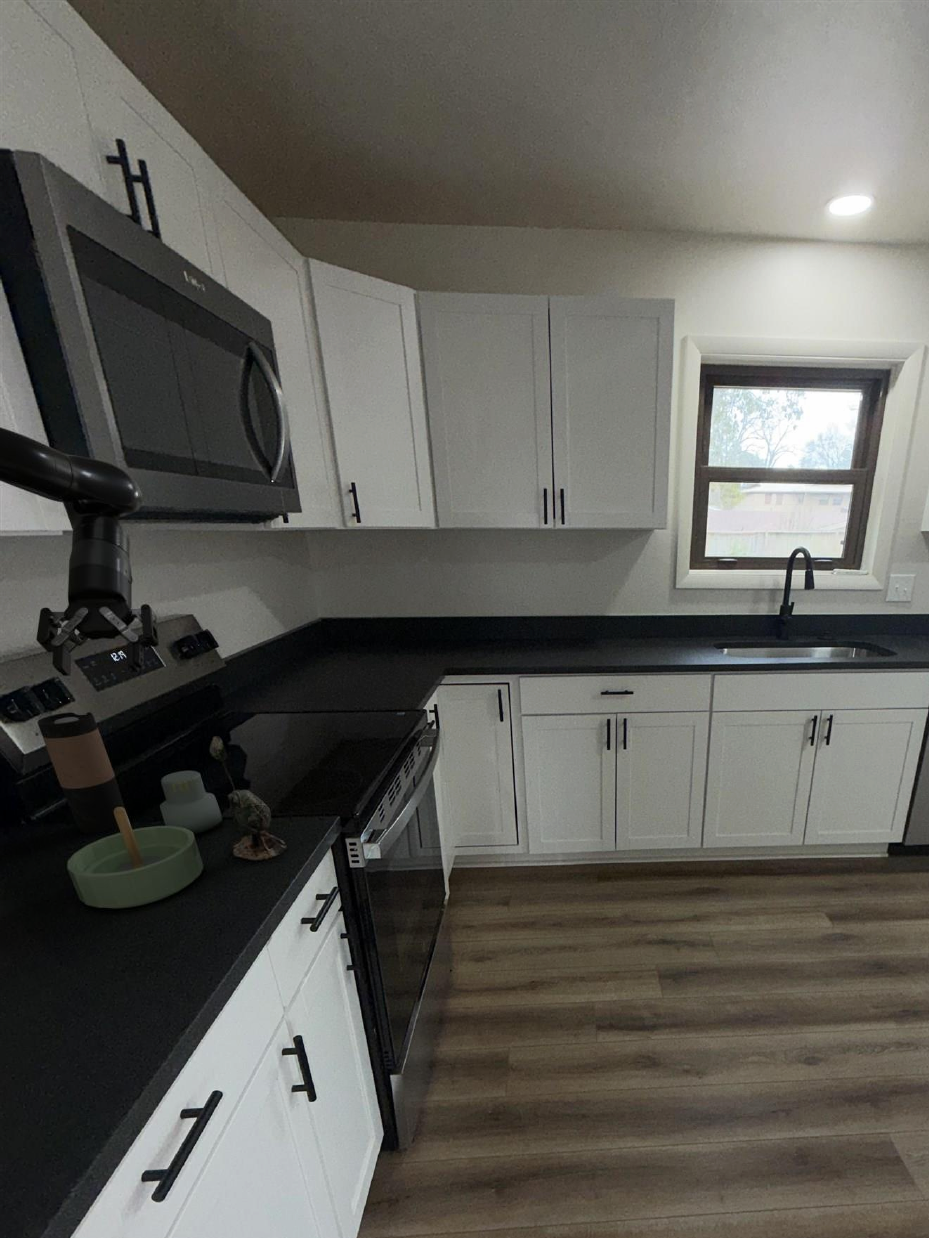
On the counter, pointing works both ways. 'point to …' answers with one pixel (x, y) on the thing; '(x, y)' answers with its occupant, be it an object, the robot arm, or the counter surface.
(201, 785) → the air freshener
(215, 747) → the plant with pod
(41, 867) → the counter surface
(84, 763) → the travel mug
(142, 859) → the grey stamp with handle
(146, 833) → the bowl
